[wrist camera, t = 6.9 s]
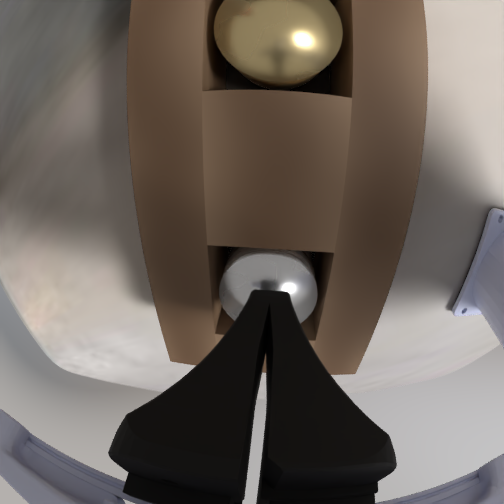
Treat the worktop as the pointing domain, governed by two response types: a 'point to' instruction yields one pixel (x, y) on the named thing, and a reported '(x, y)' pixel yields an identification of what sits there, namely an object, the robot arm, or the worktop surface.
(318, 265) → the walnut block
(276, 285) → the steel peg
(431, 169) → the worktop surface
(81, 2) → the worktop surface
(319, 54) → the brass peg
